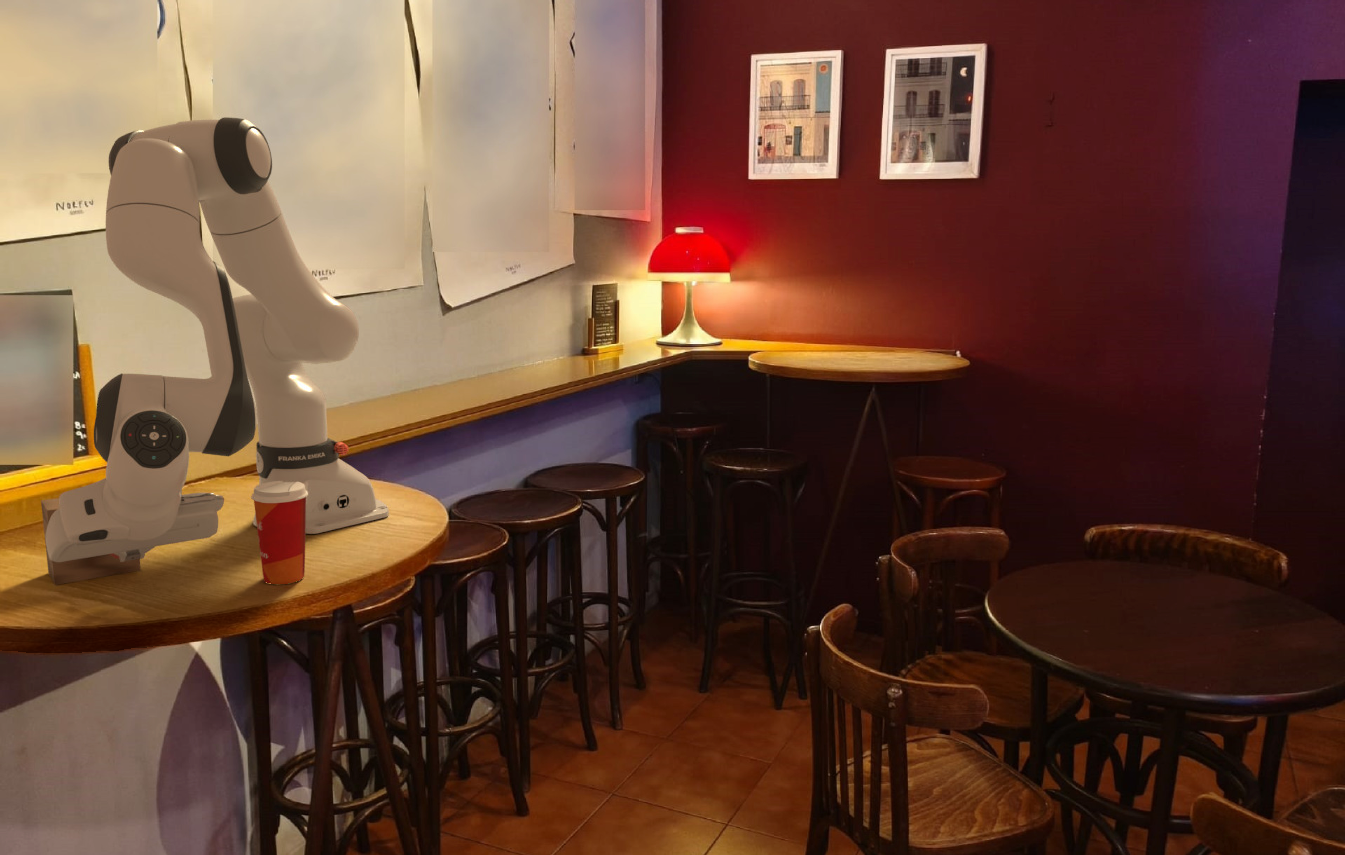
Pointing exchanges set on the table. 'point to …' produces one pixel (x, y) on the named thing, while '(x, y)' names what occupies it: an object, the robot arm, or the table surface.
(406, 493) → the table surface
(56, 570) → the socket block
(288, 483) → the paper cup
